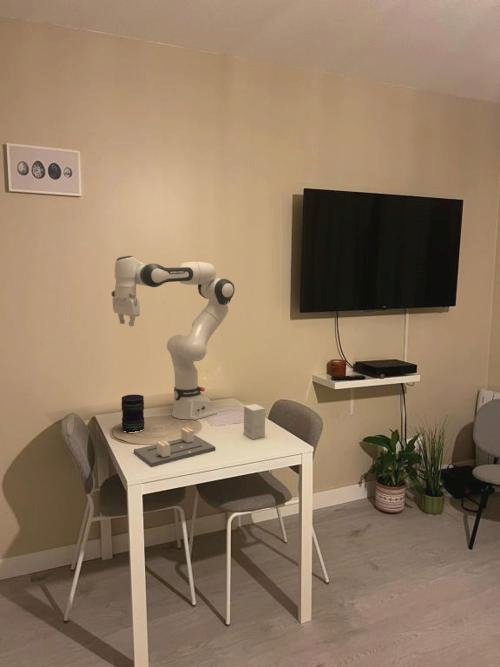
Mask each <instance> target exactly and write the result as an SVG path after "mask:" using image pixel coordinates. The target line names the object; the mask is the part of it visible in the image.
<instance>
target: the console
mask: <svg viewBox="0 0 500 667" xmlns="http://www.w3.org/2000/svg"><path fill="white" fill-rule="evenodd" d="M166 442H167V443H169V444H170V456H166V457H162V456H161V455H159V454H158V453H157V443H156V444H152V445H147V446H144V447H143V446H142V447H140V448H139V447H138V448H134V449H133V454H134V455H135V456H137V457H138V458H140V459H141V460H142V461H143V462H145V463H146V464H147V465H148V466H150V467H152V468H153V467H157V466H160V465H164V464H168V463H172V462H176V461H179V460H185V459H188V458H191V457H195V456H199V455H203V454H206V453H210V452H215V451H216V446H215V445H213V444H212V443H210V442H208V441H206V440H205V439H202V438H201V437H199V436H197V435H194V441H192V442H188V443H187V442H185V441H184V440H182V439H181V438H178V439H174V440H169V441H166Z"/></svg>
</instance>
